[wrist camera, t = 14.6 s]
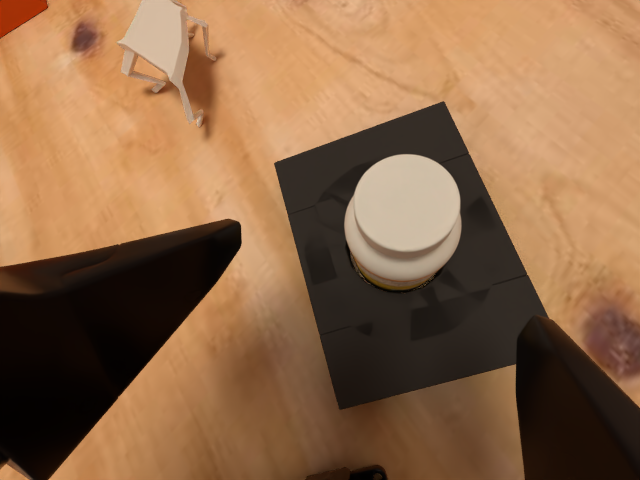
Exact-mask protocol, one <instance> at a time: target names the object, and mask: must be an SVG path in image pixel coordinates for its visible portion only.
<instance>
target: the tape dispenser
mask: <svg viewBox="0 0 640 480" xmlns="http://www.w3.org/2000/svg"><path fill="white" fill-rule="evenodd" d="M46 8H48V6H47V3H46V0H0V37H2V36H4V35H5V34H7V33H8V32H10V31H11V30H13V29H15V28H16V27H18V26H19V25H21V24H22V23H24V22H26V21H27V20H29V19H30V18H32V17H33V16H35V15H37V14H38V13H40V12H41V11H43V10H44V9H46Z"/></svg>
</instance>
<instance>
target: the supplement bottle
mask: <svg viewBox="0 0 640 480" xmlns="http://www.w3.org/2000/svg"><path fill="white" fill-rule="evenodd" d="M344 228H345V236H346V240H347V243H348V246H349V248H350V251H351V253H352V255H353V257H354V260H355V262H356V264H357V266H358V268H359V270H360V272H361V274H362V275H363V277H364V278H365V279H366V280H367V281H368V282H369V283H371V284H372V285H373V286H375V287H377V288H379V289H381V290H384V291H388V292H406V291H410V290H412V289H415V288H417V287H419V286H420V285H422V284H423V283H424V282H426V281H427V280H428V279H429V278H430V277H431V276H432V275H433V274H435V273H436V272H437V271H438V270H439V269H440V268H441V267H443V266H444V265H445V264H446V262H447V261H448V260H449V259H450V258H451V256H452V255H453V253H454V252H455V250H456V248H457V245H458V243H459V239H460V235H461V216H460V194H459V190H458V187H457V185H456V182H455V181H454V179H453V177H452V176H451V175H450V173H449V172H448V171H447V170H446V169H445V168H443V167H442V166H441V165H440V164H438V163H437V162H435V161H433V160H431V159H429V158H426V157H423V156H419V155H410V154H402V155H395V156H391V157H388V158H385V159H383V160H381V161H379V162H377V163H376V164H374V165H373V166H372V167H371V168H369V169H368V170H367V171H366V172H365V173H364V175H363V176H362V177H361V179H360V181H359V182H358V184H357V187H356V190H355V193H354V196H353V197H352V199H351V201H350V202H349V205H348V207H347V210H346V214H345V222H344Z"/></svg>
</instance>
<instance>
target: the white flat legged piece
mask: <svg viewBox="0 0 640 480" xmlns="http://www.w3.org/2000/svg"><path fill="white" fill-rule="evenodd" d="M187 20H190V21H192V22H194V23H197V24H199V25H201V26H202V27H203V36H204V44H205V53H206V56H207V57H209V58H210V59H212V60H214V61H216V59H217V58H216V57H215V56H214V55H211V54H209V42H208V24H207V23H206V22H205V21H204V20H201V19H198V18H195V17H191V16H189V15H188V14H187V8H186V6H185V5H183V4H181V3H179V2H177V1H176V0H142V1H141V4H140V6H139V8H138V11H137V13H136V15H135V17H134V19H133V21H132V23H131V25H130V27H129V29H128V31H127V32H126V34H125V36H124V38H123V39H121V40H119V41H117V42H116V43H117V44H118V45H119V46H121V47H122V48H123V49H124V50H125V52H124V57H123V62H122V68H121V72H122V73H123V74H125V75H127V76H129V77H133V78H137V79H141V80H145V81H149V82H153V83H157V85H156V86H154V87H153V88H152V89H151V90H152V91H154V92H155V93H157V92H158V91H159V90H160V89H161V88H162V87H163V86H164V85H165V84H166V82H164V81H163V80H160V79H157V78H154V77H151V76H148V75H145V74H142V73H139V72H135V71H133V69H134V66H135V63H136V60H137V58H138V55H139V56H140V57H141V58H143V59H144V60H146V61H147V62H149V63H150V64H152V65H153V66H155V67H156V68H158V69H159V70H160V71H162V72H163V73H165V74H166V75H168V77H169V80H170V81H171V82H172V83H173V84H174V85H175V86H176V87H177V88H178V89H179V91H180V95H181V99H182V103H183V107H184V111H185V115H186V119H187V121H188V122H189V124H190V123H191V122H193V121H194V120H195V119H197V118H198V119H197V123H196V125H197V126H198V127H200V126H201V125H202V121H203V115H204V111H203V110H202V109H200V110H198V111H197V112H195V113H194V114H193V113H192V110H191V107H190V103H189V100H188V97H187V94H186V91H185V88H184V85H183V82H182V80H183V76H184V71H185V67H186V62H187V58H188V53H189V38H188V37H193V36H194V34H193V33H188V27H187Z"/></svg>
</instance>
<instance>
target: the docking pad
mask: <svg viewBox="0 0 640 480" xmlns="http://www.w3.org/2000/svg"><path fill="white" fill-rule="evenodd" d="M402 154H410V155H419V156H423V157H426V158H429V159H431V160H433V161H435V162H437V163H438V164H440V165H441V166H442V167H443V168H445V169H446V170H447V171H448V172H449V173H450V175H451V176H452V177H453V179H454V181H455V182H456V185H457V187H458V190H459V194H460V216H461V235H460V239H459V243H458V245H457V248H456V250H455V252H454V253H453V255H452V256H451V258H450V259H449V260H448V261H447V262H446V264H445V265H444V266H443V267H441V268H440V269H439V270H438V271H437V273H436V275H435V277H434V279H433V280H432V281H431V282H429V283H428V284H427V285H426V286H424V287H423V288H420V289H417V290H414V291H410V292H407V293H395V292H385V291H381V290H379V289H377V288H376V287H374V286H372V285H370V284H368V283H366V282H364V281H363V279H362V278H361V277H360V276H359V275H358V273H357V272H356V271H355V270H354V268H353V264H352V261H351V258H350V248H349V246H348V243H347V240H346V236H345V228H344V222H345V214H346V210H347V207H348V205H349V202H350V201H351V199H352V197H353V196H354V193H355V190H356V187H357V184H358V182H359V181H360V179H361V177H362V176H363V175H364V173H365V172H366V171H367V170H368V169H369V168H371V167H372V166H373V165H374V164H376V163H377V162H379V161H381V160H383V159H385V158H388V157H391V156H395V155H402ZM274 165H275V168H276V172H277V176H278V180H279V184H280V187H281V191H282V195H283V199H284V202H285V206H286V210H287V214H288V218H289V221H290V225H291V229H292V233H293V236H294V240H295V244H296V248H297V252H298V255H299V259H300V263H301V267H302V270H303V274H304V278H305V282H306V286H307V289H308V293H309V297H310V301H311V304H312V308H313V312H314V316H315V319H316V323H317V327H318V331H319V334H320V338H321V342H322V346H323V350H324V354H325V357H326V361H327V365H328V369H329V372H330V376H331V380H332V384H333V388H334V391H335V395H336V399H337V403H338V406H339V409H340V410H341V409H345V408H349V407H353V406H357V405H361V404H364V403H368V402H372V401H376V400H380V399H384V398H387V397H391V396H395V395H399V394H403V393H407V392H410V391H414V390H418V389H422V388H426V387H430V386H434V385H437V384H441V383H445V382H449V381H453V380H457V379H460V378H464V377H468V376H472V375H476V374H480V373H484V372H487V371H491V370H495V369H499V368H503V367H507V366H510V365H514V364H516V347H517V338H518V335H519V333H520V332H521V331H522V329H523V328H524V326H525V325H526V324H527V322H528V321H529V319H530V318H531V317H532V316H534V315H539V316H542V317H546V318H549V317H548V315H547V313H546V311H545V309H544V307H543V305H542V303H541V301H540V299H539V297H538V295H537V293H536V291H535V288H534V286H533V284H532V282H531V280H530V278H529V276H528V275H527V272H526V270H525V268H524V266H523V264H522V262H521V260H520V258H519V256H518V254H517V252H516V250H515V248H514V245H513V243H512V241H511V239H510V237H509V235H508V233H507V231H506V229H505V227H504V225H503V223H502V221H501V219H500V216H499V214H498V212H497V210H496V208H495V206H494V204H493V202H492V200H491V198H490V196H489V194H488V192H487V189H486V187H485V185H484V183H483V181H482V179H481V177H480V175H479V173H478V171H477V169H476V167H475V165H474V163H473V160H472V158H471V156H470V154H469V152H468V150H467V148H466V146H465V144H464V142H463V140H462V137H461V135H460V133H459V131H458V129H457V127H456V125H455V123H454V121H453V119H452V117H451V115H450V113H449V111H448V108H447V106H446V104H445V102H444V101H443V102H440V103H438V104H435V105H432V106H429V107H427V108H424V109H421V110H418V111H416V112H413V113H410V114H407V115H405V116H402V117H399V118H396V119H394V120H391V121H388V122H385V123H383V124H380V125H377V126H374V127H372V128H369V129H366V130H363V131H361V132H358V133H355V134H352V135H350V136H347V137H344V138H341V139H339V140H336V141H333V142H330V143H328V144H325V145H322V146H319V147H316V148H314V149H311V150H308V151H305V152H303V153H300V154H297V155H294V156H292V157H289V158H286V159H283V160H281V161H278V162H275V163H274Z"/></svg>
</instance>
